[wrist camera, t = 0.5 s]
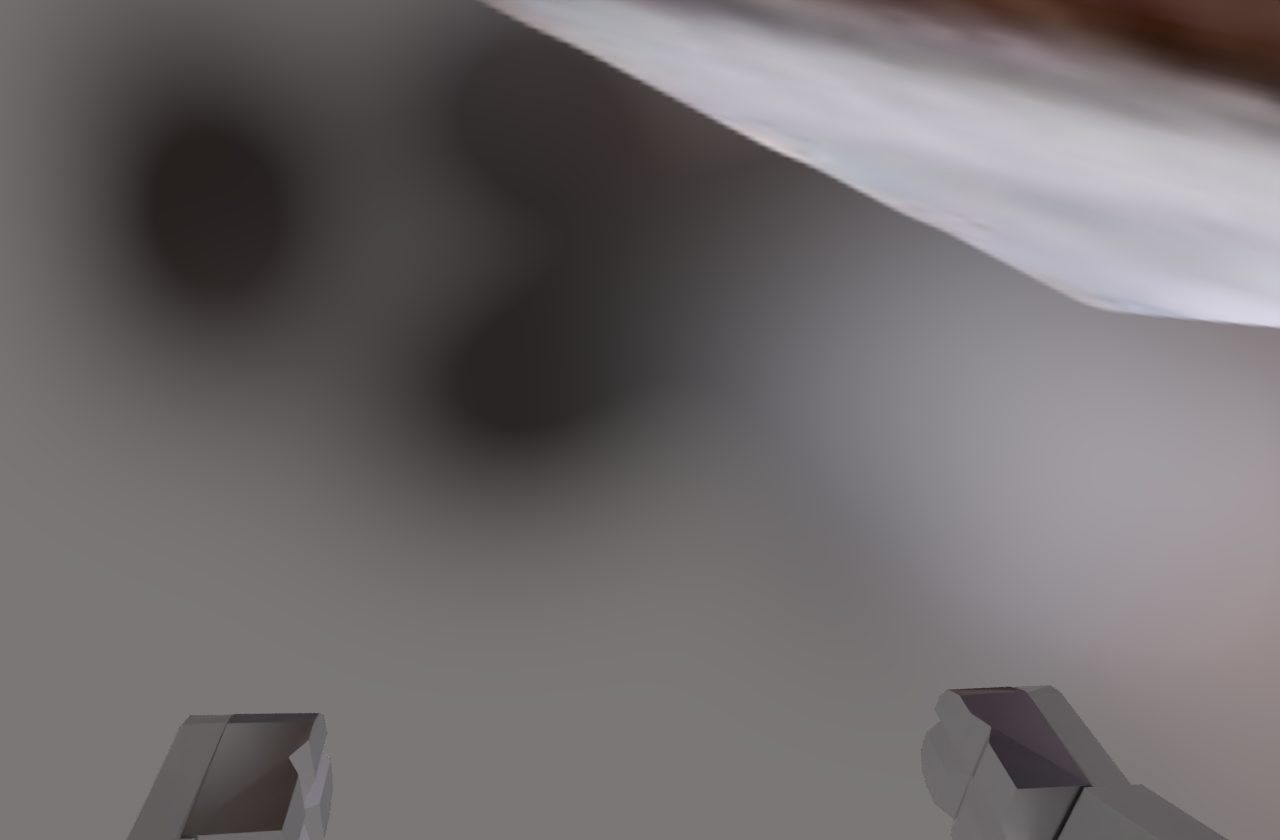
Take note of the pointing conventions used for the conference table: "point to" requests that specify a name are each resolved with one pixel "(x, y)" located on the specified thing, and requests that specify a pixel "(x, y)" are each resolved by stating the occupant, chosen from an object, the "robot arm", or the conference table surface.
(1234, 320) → the conference table surface
